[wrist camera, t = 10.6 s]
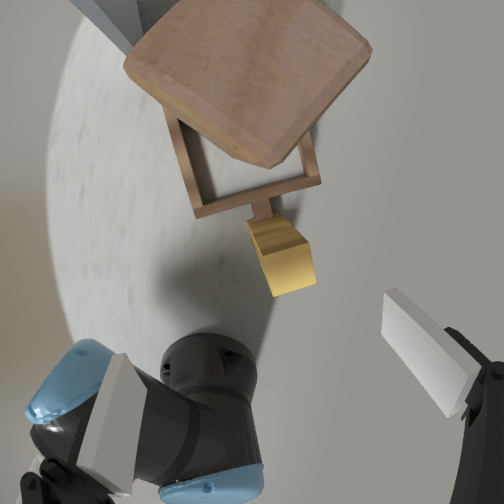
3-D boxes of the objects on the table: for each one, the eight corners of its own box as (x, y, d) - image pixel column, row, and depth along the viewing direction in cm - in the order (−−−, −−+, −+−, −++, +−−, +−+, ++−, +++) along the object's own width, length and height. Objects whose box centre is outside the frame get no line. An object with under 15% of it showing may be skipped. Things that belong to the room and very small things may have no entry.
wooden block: (170, 114, 28) (109, 65, 10) (225, 51, 26) (241, -53, 8) (239, 162, 31) (274, 179, 13) (291, 100, 29) (385, 49, 11)
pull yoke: (325, 229, 36) (370, 265, 25) (213, 262, 35) (213, 314, 24) (275, 36, 26) (303, -10, 15) (154, 65, 26) (125, 27, 15)
